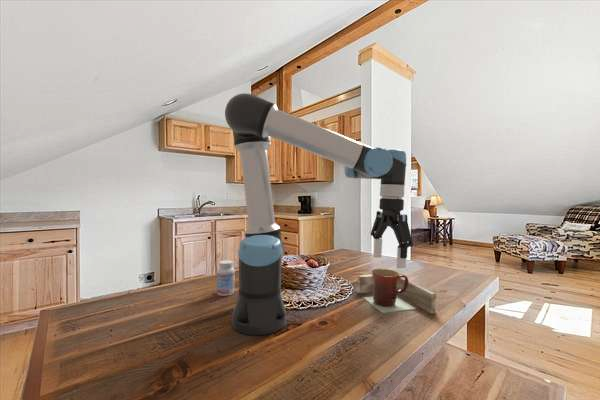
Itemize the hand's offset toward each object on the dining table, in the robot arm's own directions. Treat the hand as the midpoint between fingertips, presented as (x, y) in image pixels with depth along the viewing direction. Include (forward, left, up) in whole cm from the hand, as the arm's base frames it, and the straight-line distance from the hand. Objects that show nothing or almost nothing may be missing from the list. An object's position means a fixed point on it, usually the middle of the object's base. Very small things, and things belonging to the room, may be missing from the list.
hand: (388, 262), depth 92 cm
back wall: (+10, +1, -14) cm, 17 cm away
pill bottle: (-52, +21, -14) cm, 57 cm away
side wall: (+2, +11, -14) cm, 18 cm away
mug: (0, -1, -14) cm, 14 cm away
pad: (0, 0, -14) cm, 14 cm away
